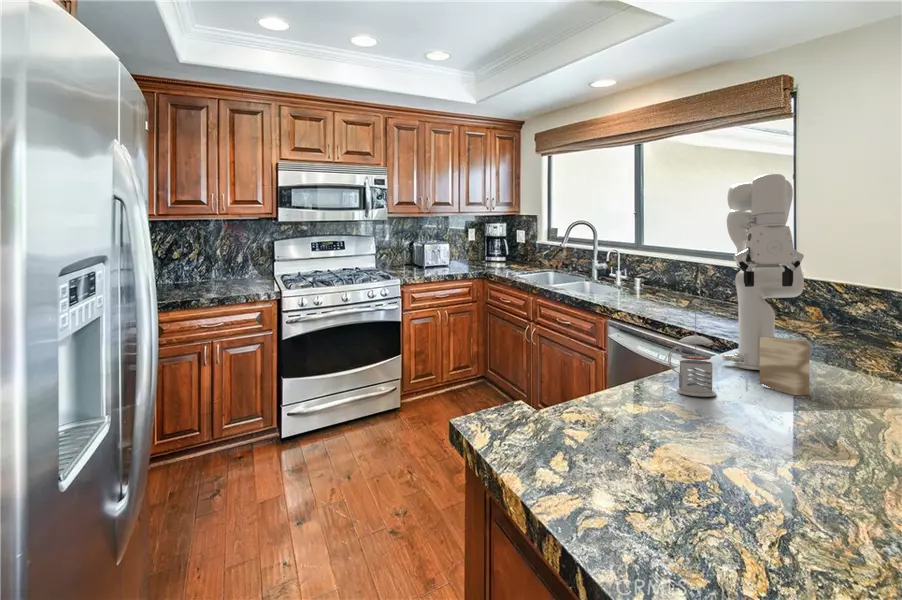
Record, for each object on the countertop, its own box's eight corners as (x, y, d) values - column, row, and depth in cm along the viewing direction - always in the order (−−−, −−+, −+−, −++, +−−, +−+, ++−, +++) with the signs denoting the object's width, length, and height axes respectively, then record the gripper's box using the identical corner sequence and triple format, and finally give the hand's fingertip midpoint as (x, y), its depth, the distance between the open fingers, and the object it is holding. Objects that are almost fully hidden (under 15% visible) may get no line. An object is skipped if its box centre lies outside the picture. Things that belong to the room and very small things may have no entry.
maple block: (795, 395, 119) (795, 341, 119) (759, 386, 131) (759, 337, 131) (809, 394, 120) (809, 341, 119) (772, 385, 131) (772, 336, 131)
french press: (722, 397, 117) (723, 299, 117) (673, 395, 120) (673, 299, 119) (709, 389, 127) (709, 299, 127) (664, 387, 129) (664, 299, 129)
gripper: (742, 220, 119) (742, 286, 119) (812, 219, 118) (812, 286, 118) (727, 225, 127) (727, 287, 127) (792, 224, 125) (792, 286, 126)
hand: (768, 286), depth 123 cm, fingers open, 9 cm apart
